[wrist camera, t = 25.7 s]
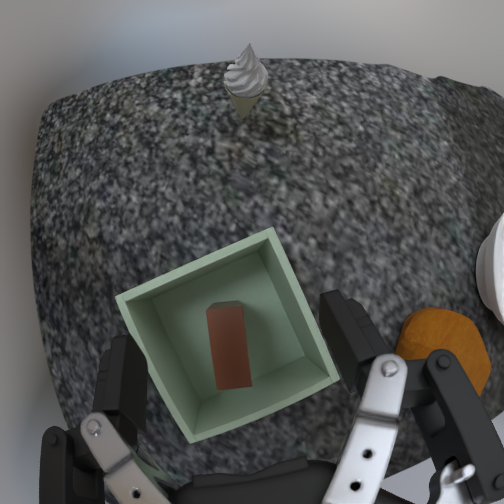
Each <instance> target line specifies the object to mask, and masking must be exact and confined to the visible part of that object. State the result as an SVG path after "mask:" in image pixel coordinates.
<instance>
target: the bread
mask: <svg viewBox="0 0 504 504" xmlns="http://www.w3.org/2000/svg"><path fill="white" fill-rule="evenodd" d="M436 349H447V350H449V351H451V352H452V353H453V354H454V355H455V356H456V357H457V359H458V361H459V362H460V364H461V366H462V367H463V369H464V371H465V372H466V374H467V376H468V378H469V379H470V381H471V383H472V385H473V387H474V388H475V390H476V392H477V394H478V396H479V397H480V395H481V393H482V391H483V389H484V387H485V384H486V382H487V380H488V378H489V374H490V371H491V367H492V366H491V363H490V360H489V357H488V355H487V352H486V349H485V346H484V343H483V341H482V338H481V336H480V334H479V331H478V329H477V327H476V326H475V325H474V323H473V322H472V321H471V320H470V319H469V318H467V317H465V316H463V315H462V314H459V313H456V312H453V311H450V310H447V309H441V308H434V307H428V308H423V309H420V310H418V311H416V312H414V313H412V314H411V315H410V316H408V317H407V319H406V320H405V322H404V324H403V327H402V330H401V333H400V336H399V340H398V343H397V347H396V351H395V355H398V356H399V357H401V358H402V359H404V360H415V359H424V358H428V356H429V354H430V353H431V352H432V351H434V350H436Z"/></svg>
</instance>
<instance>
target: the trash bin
mask: <svg viewBox="0 0 504 504" xmlns="http://www.w3.org/2000/svg"><path fill="white" fill-rule="evenodd" d="M115 299H116V301H117V304H118V306H119V309H120V311H121V314H122V316H123V318H124V321H125V323H126V325H127V328H128V330H129V332H130V334H131V335H132V337H133V338H134V340H135V341H136V343H137V344H138V346H139V347H140V349H141V350H142V352H143V353H144V355H145V357H146V360H147V364H148V372H149V374H150V376H151V378H152V380H153V382H154V384H155V385H156V387H157V389H158V391H159V393H160V395H161V396H162V398H163V400H164V402H165V404H166V405H167V407H168V409H169V411H170V412H171V414H172V416H173V417H174V419H175V421H176V422H177V424H178V426H179V427H180V429H181V431H182V432H183V434H184V435H185V437H186V438H187V440H188V442H189V443H194V442H197V441H200V440H203V439H206V438H209V437H212V436H215V435H218V434H221V433H223V432H226V431H229V430H232V429H234V428H237V427H240V426H242V425H245V424H247V423H250V422H252V421H255V420H257V419H259V418H262V417H264V416H266V415H269V414H271V413H273V412H276V411H278V410H280V409H282V408H284V407H287V406H289V405H291V404H293V403H295V402H297V401H299V400H301V399H303V398H305V397H307V396H309V395H311V394H313V393H315V392H317V391H319V390H321V389H323V388H325V387H327V386H329V385H330V384H332V383H334V382H336V381H338V380H340V378H339V375H338V373H337V370H336V368H335V366H334V363H333V361H332V358H331V356H330V354H329V351H328V349H327V347H326V344H325V342H324V340H323V337H322V335H321V333H320V330H319V328H318V326H317V324H316V321H315V319H314V317H313V314H312V312H311V310H310V308H309V305H308V303H307V301H306V298H305V296H304V294H303V292H302V289H301V287H300V285H299V283H298V281H297V278H296V276H295V274H294V272H293V269H292V267H291V265H290V263H289V261H288V259H287V256H286V254H285V252H284V250H283V248H282V245H281V243H280V241H279V239H278V237H277V235H276V233H275V230H274V228H273V227H271V228H268V229H266V230H264V231H261V232H259V233H257V234H254V235H252V236H250V237H247V238H245V239H243V240H241V241H238V242H236V243H234V244H231V245H229V246H227V247H225V248H222V249H220V250H218V251H215V252H213V253H211V254H209V255H206V256H204V257H202V258H200V259H197V260H195V261H193V262H191V263H188V264H186V265H184V266H182V267H179V268H177V269H175V270H173V271H170V272H168V273H166V274H164V275H162V276H159V277H157V278H155V279H153V280H150V281H148V282H146V283H144V284H142V285H139V286H137V287H135V288H133V289H131V290H128V291H126V292H124V293H122V294H120V295H118V296H115ZM235 300H238V301H239V302H240V304H241V305H242V306H243V313H244V321H245V330H246V338H247V347H248V355H249V363H250V371H251V379H252V387H247V388H238V389H228V390H217V388H216V382H215V375H214V369H213V362H212V355H211V347H210V340H209V332H208V324H207V316H206V310H207V309H208V308H209V307H210V306H211V305H212V304H213V303H216V302H226V301H235Z"/></svg>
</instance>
